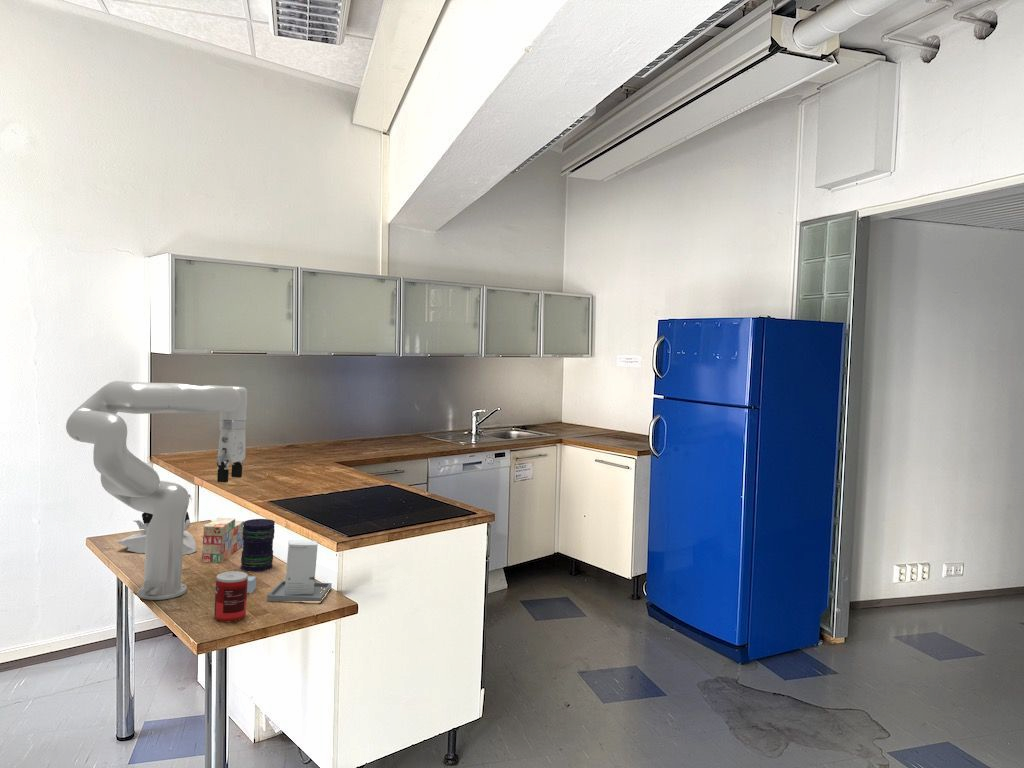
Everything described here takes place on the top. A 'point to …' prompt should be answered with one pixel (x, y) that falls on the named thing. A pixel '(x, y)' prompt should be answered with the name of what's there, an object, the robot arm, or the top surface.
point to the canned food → (230, 596)
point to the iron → (139, 541)
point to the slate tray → (279, 595)
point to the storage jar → (257, 544)
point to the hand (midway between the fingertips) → (229, 479)
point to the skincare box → (301, 567)
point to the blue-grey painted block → (251, 584)
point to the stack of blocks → (221, 539)
